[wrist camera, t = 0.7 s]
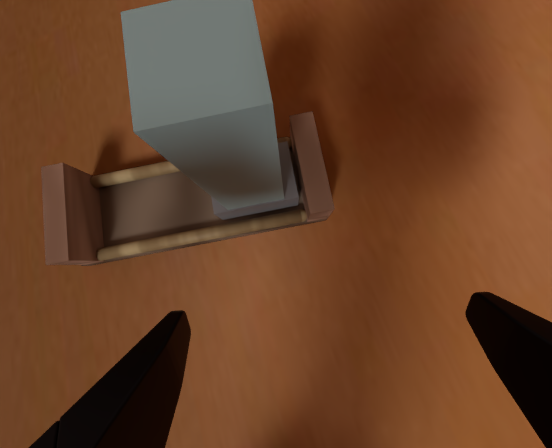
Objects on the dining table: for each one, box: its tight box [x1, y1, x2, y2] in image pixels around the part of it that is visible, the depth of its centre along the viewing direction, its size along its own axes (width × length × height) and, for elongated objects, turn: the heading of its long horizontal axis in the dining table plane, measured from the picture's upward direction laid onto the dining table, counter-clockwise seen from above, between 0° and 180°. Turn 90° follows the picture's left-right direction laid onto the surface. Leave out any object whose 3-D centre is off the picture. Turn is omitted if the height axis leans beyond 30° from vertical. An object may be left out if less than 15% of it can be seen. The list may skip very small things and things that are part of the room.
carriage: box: [121, 0, 299, 220], centre depth 14 cm, size 6×4×14 cm
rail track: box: [41, 111, 334, 266], centre depth 20 cm, size 20×7×4 cm, turn 100°
